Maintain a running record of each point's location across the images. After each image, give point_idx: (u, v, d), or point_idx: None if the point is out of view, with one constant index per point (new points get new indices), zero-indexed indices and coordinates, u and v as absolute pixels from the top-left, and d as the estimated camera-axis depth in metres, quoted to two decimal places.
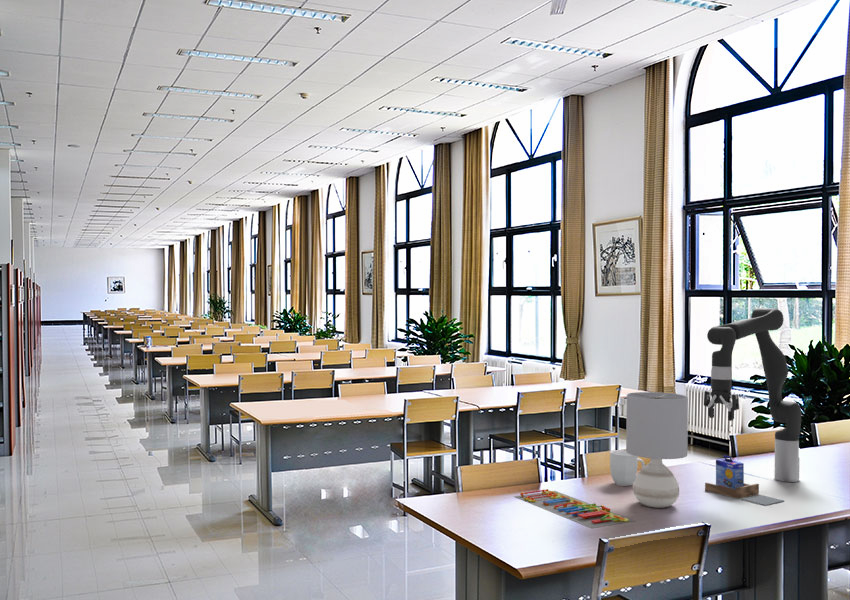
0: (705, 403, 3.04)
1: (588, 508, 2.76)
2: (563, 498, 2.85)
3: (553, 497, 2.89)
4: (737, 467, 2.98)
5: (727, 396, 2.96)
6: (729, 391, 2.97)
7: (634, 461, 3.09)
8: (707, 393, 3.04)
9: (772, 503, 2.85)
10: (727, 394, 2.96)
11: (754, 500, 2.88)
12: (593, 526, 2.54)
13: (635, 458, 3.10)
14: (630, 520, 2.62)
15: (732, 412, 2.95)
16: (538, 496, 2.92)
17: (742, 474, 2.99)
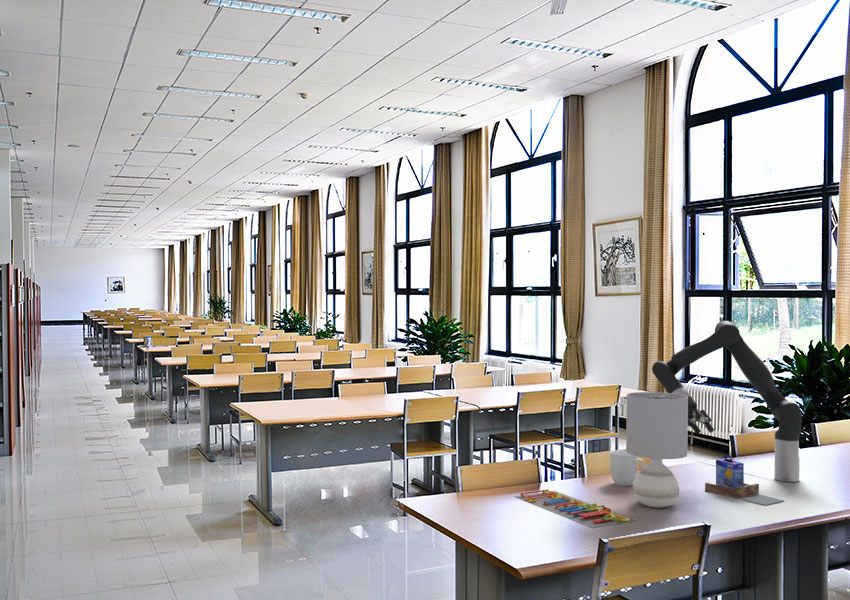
0: None
1: None
2: (563, 498, 2.85)
3: (553, 497, 2.89)
4: (737, 467, 2.98)
5: None
6: None
7: (634, 461, 3.09)
8: None
9: (772, 503, 2.85)
10: None
11: (754, 500, 2.88)
12: (594, 526, 2.54)
13: (635, 458, 3.10)
14: (631, 520, 2.62)
15: (692, 426, 3.13)
16: (538, 496, 2.92)
17: (742, 474, 2.99)
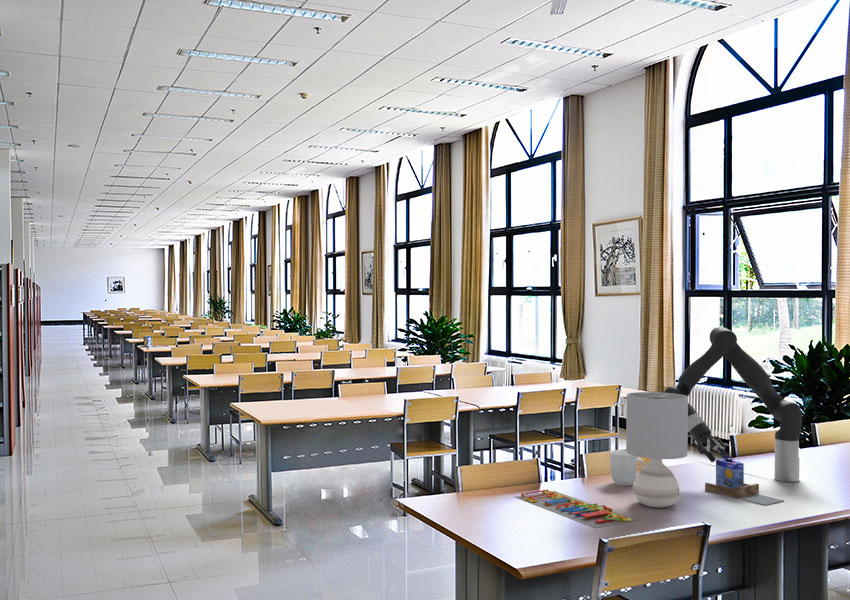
0: None
1: (590, 508, 2.76)
2: (564, 498, 2.85)
3: (554, 497, 2.89)
4: (737, 467, 2.98)
5: None
6: (698, 438, 3.11)
7: (634, 461, 3.09)
8: None
9: (772, 503, 2.85)
10: None
11: (754, 500, 2.88)
12: (597, 526, 2.54)
13: (635, 458, 3.10)
14: (633, 520, 2.62)
15: (707, 454, 3.06)
16: (539, 496, 2.92)
17: (742, 474, 2.99)
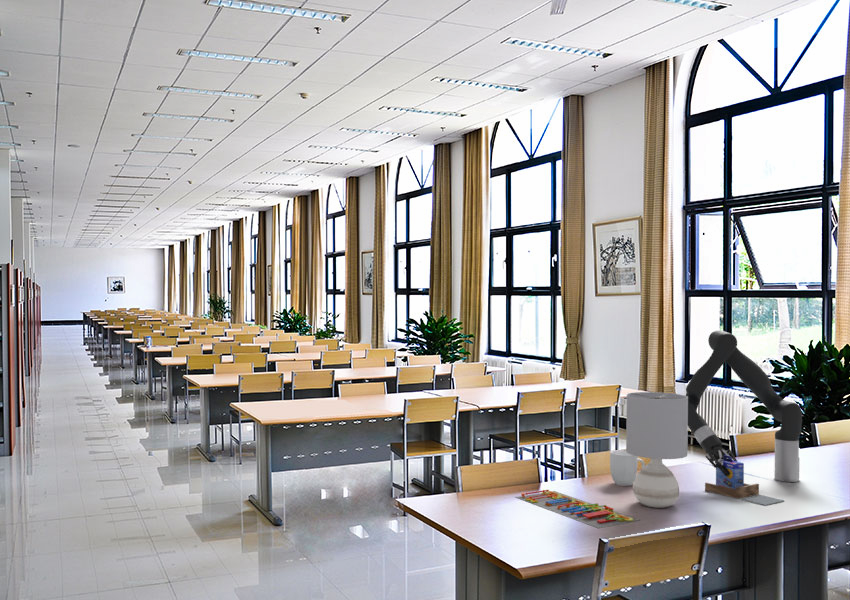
0: None
1: (591, 508, 2.76)
2: (565, 498, 2.85)
3: (554, 497, 2.89)
4: (737, 467, 2.98)
5: None
6: (709, 450, 3.07)
7: (634, 461, 3.09)
8: None
9: (772, 503, 2.85)
10: None
11: (754, 500, 2.88)
12: (599, 526, 2.54)
13: (635, 458, 3.10)
14: (634, 519, 2.62)
15: (721, 468, 3.01)
16: (539, 496, 2.92)
17: (742, 474, 2.99)
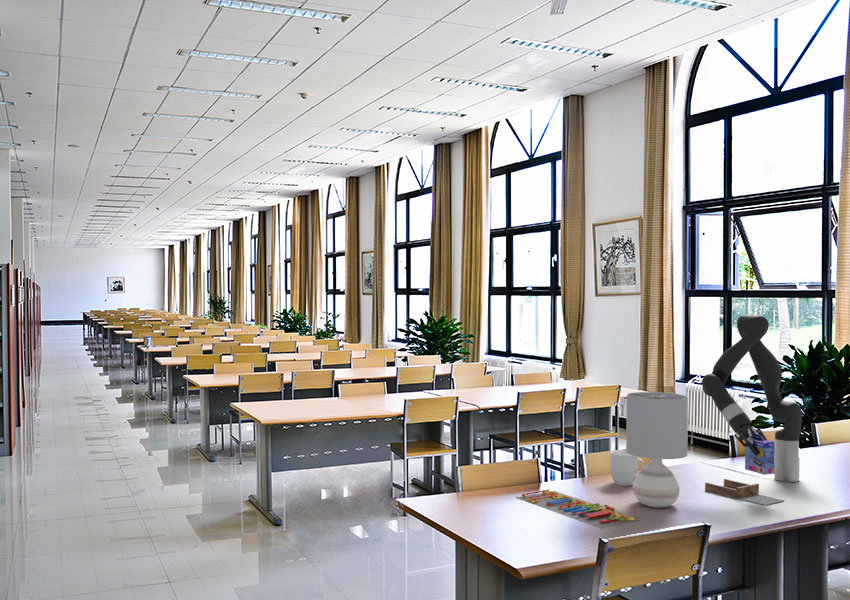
0: None
1: (592, 508, 2.77)
2: (565, 498, 2.85)
3: (555, 497, 2.89)
4: (768, 446, 2.86)
5: None
6: (738, 428, 2.95)
7: (634, 461, 3.09)
8: None
9: (772, 503, 2.85)
10: None
11: (754, 500, 2.88)
12: (602, 526, 2.55)
13: (635, 458, 3.10)
14: (636, 519, 2.63)
15: (750, 447, 2.90)
16: (539, 497, 2.91)
17: (773, 453, 2.87)
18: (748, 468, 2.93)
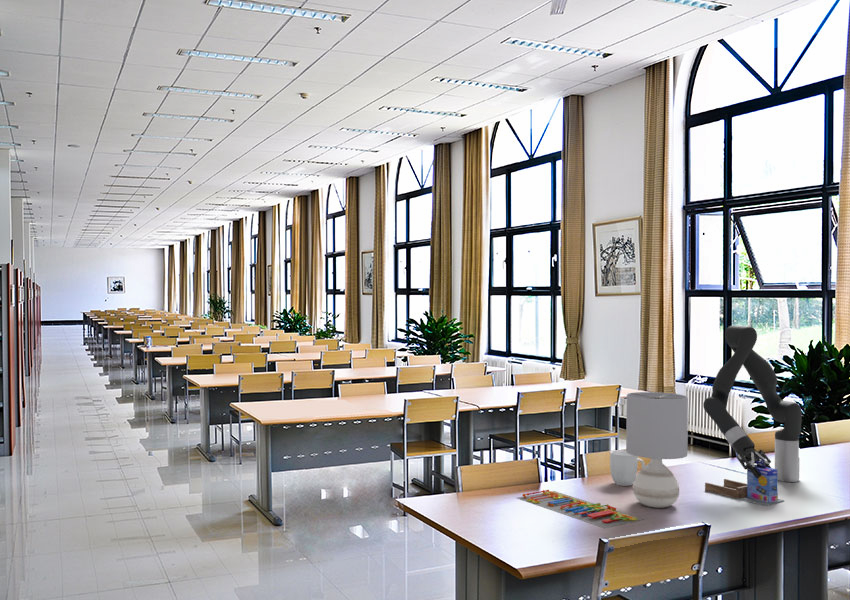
0: None
1: (593, 508, 2.77)
2: (566, 498, 2.85)
3: (555, 497, 2.89)
4: (772, 474, 2.85)
5: None
6: (741, 452, 2.93)
7: (634, 461, 3.09)
8: None
9: (772, 503, 2.85)
10: None
11: (754, 500, 2.88)
12: (605, 526, 2.55)
13: (635, 458, 3.10)
14: (638, 519, 2.63)
15: (751, 470, 2.88)
16: (540, 497, 2.91)
17: (776, 481, 2.87)
18: (751, 496, 2.91)
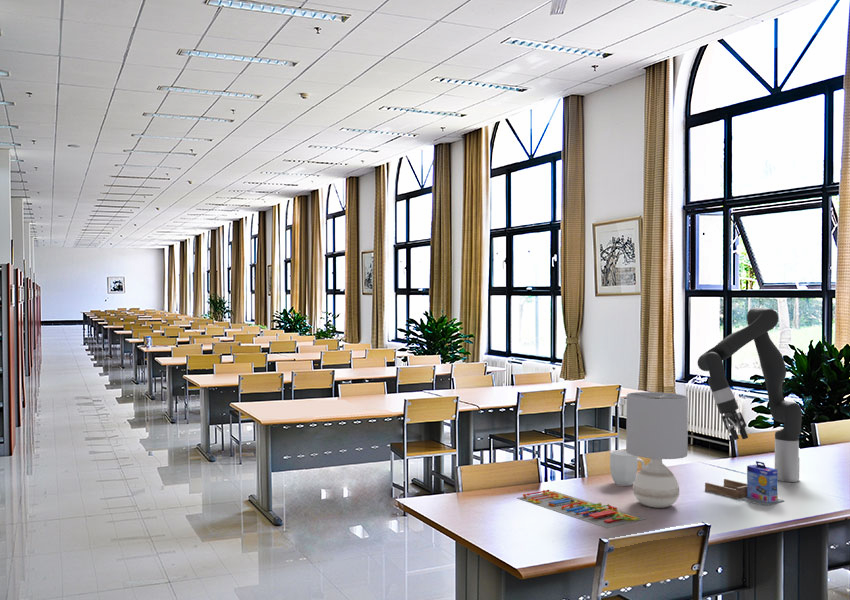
0: (726, 427, 3.12)
1: (594, 508, 2.77)
2: (567, 498, 2.85)
3: (556, 498, 2.88)
4: (772, 474, 2.85)
5: (733, 416, 3.03)
6: (733, 411, 3.04)
7: (634, 461, 3.09)
8: (723, 417, 3.12)
9: (772, 503, 2.85)
10: (732, 414, 3.03)
11: (754, 500, 2.88)
12: (607, 526, 2.55)
13: (635, 458, 3.10)
14: (640, 518, 2.64)
15: (742, 430, 3.00)
16: (540, 497, 2.91)
17: (776, 481, 2.87)
18: (751, 496, 2.91)
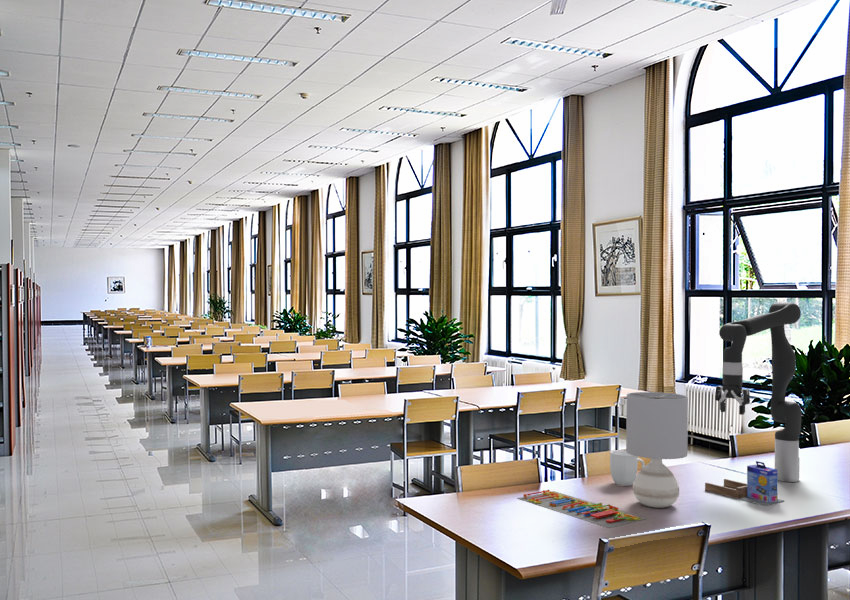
0: (717, 398, 3.15)
1: (595, 508, 2.77)
2: (567, 498, 2.85)
3: (556, 498, 2.88)
4: (772, 474, 2.85)
5: (738, 391, 3.07)
6: (740, 386, 3.07)
7: (634, 461, 3.09)
8: (719, 388, 3.14)
9: (772, 503, 2.85)
10: (738, 389, 3.07)
11: (754, 500, 2.88)
12: (609, 526, 2.55)
13: (635, 458, 3.10)
14: (641, 518, 2.64)
15: (743, 406, 3.06)
16: (541, 497, 2.91)
17: (776, 481, 2.87)
18: (751, 496, 2.91)
